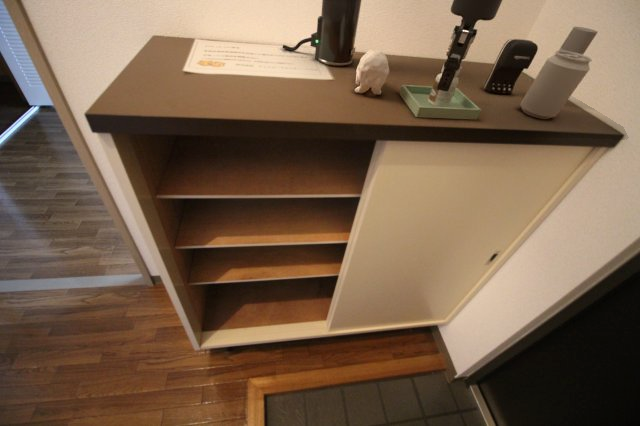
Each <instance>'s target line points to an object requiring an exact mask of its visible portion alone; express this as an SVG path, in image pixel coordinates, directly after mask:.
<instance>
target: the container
mask: <svg viewBox="0 0 640 426" xmlns="http://www.w3.org/2000/svg"><path fill="white" fill-rule="evenodd" d="M597 34H598V31H597V30H595V29H591V28H587V27H582V26H573V27H572V29H571V31H570V32H569V34H568V35H567V37H566V38H565V40H564V41H563V43H562V44H561V46H560V47H559V49H558V51H560V50H561V51H569V52H574V53H578V54H582V55H584V54H585V53H586V51H587V50H588V48H589V47H590V46H591V43H592V42H593V40H594V39H595V37H596V36H597Z"/></svg>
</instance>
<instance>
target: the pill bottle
mask: <svg viewBox="0 0 640 426" xmlns="http://www.w3.org/2000/svg"><path fill="white" fill-rule="evenodd" d="M462 68H463V67H462V65H461V66H460V68H459V69H458V71H456V73H455V76H454V78H453V81H452V83H451V86H450V88H449V90H448V91H441V90H438V89H437V86H438V84H439V81H440V78H441V76H442V73H443V70H444V64H443V65H442V68H441V70H440V71H441V73H438V74H437V75H436V77H435V79H434V83H433V85H432V86H433V88H432V90H431V93H430V96H429V99H428V102H429V103H430V104H431V105H433V106H436V107H447V106H448V105H449V103H450V101H451V98H452V96H453V94H454V91H455V89H456V88H458V87H457V86H458V84H459V77H458V76H459V75H460V73H461V71H462Z"/></svg>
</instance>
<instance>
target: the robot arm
mask: <svg viewBox="0 0 640 426" xmlns="http://www.w3.org/2000/svg"><path fill="white" fill-rule="evenodd" d="M502 2H503V0H453V1H452V3H451V5H450V6H451V7H450V12H451V13H452V15H455V16H457V17H461V20H460V22H461V23H460V25H458V24H457V25H455V26H454V28H453V31H452V33H451V36H450V42H449V45H448V48H447V50H446V53H445V54H446V57H447V58H446V61H444V63H443V65H444V70H443V73H442V72H441V73H442V76H441V78H440V81H439V84H438V86H437V89H438V90H441V91H448V90H449V88H450V86H451V83H452V81H453V78H454V76H455V73H456V71H458V69H459V68H460V66H462V61H463V60H465V59H466V57H467V55H468V52H469V51H470V48H471V45H472V44H473V43H474V41H475V39H476V36H477V34H478V29H477V28H475V27H476V24H477V22H478V21H486V22H487V21H492V20H494V19H495V18H496V16H497V13H498V11H499V9H500V7H501V4H502ZM361 6H362V0H322V1H321V14H320V15H319V16H318V17H317V24H316V32H313V33H311V35H310V37H307V38H304V39H301V40H300V41H298V42H297V44H296V45H294V46H288V45H286V44H282V49H284V50H286V51H290V52H295V51H297V50H298V49H299V48H300V47H301V46H302V45H304V44H306V43H310V47H312V48H315V50H314V60H316V61H319V62H320V63H322V64H325V65H328V66H333V67H346V66H350V65H352V63H353V57H354V53H356V49H357V48H356V46H355V44H356V37H357V32H358V25H359V18H360V13H361V12H360V11H361Z"/></svg>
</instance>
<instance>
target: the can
mask: <svg viewBox="0 0 640 426" xmlns="http://www.w3.org/2000/svg"><path fill="white" fill-rule="evenodd" d="M592 61H593V60H592V58H591V57H589V56H587V55H584V54H583V55H582V54H578V53H574V52H569V51H561V50H560V51H559V50H556V51H555V52H554V55H552V56H550V57H547V59H546V60H545V62H544V63H543V65H542V67H541V68H540V70H539V72H538V73H537V75H536V77H535V79H534V80H533V81H532V84H531V85H530V87H529V89H528V90H527V91H526V93H525V95H524V96H523V99H522V100H521V102H520V108H521V110H522V112H523V113H524V114H526V115H528V116H529V117H533V118H536V119H540V120H541V119H542V120H548V119H550V118H551V119H552V118H554V117H557V116H558V114H559V113H560V112H561V110H562V109H563V107H564V106H565V105H566V103H567V102H568V100H569V99H570V97H571V96H572V94H573V93H574V92H575V90H576V89H577V88H578V86H579V85H580V84H581V82H582V81H583V79H584V78H585V77H586V75H587V74H588V73H589V71H590V62H592Z"/></svg>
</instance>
